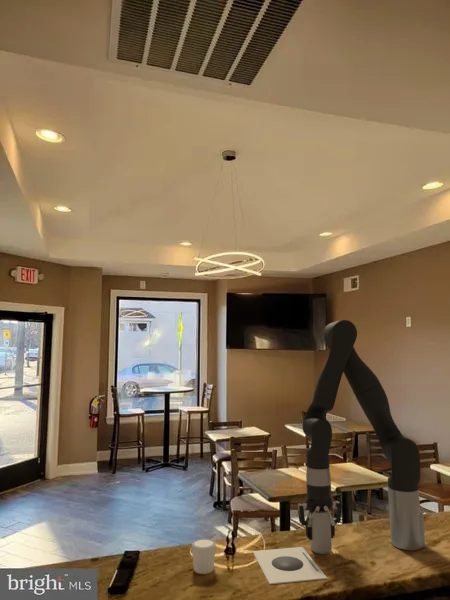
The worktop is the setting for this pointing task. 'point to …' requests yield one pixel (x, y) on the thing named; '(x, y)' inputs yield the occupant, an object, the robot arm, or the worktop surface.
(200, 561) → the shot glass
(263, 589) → the worktop surface
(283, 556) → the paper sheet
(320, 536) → the beverage can
